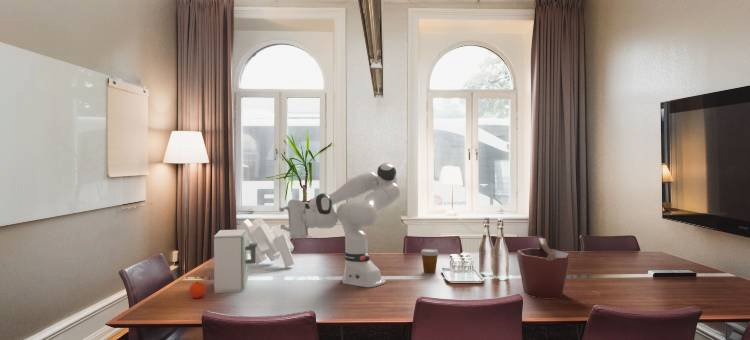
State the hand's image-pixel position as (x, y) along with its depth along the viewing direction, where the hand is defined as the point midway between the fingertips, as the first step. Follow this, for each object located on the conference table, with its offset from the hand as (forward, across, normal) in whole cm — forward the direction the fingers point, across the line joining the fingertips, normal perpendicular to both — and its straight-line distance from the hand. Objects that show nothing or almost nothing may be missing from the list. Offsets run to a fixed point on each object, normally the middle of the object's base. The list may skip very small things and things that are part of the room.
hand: (280, 218), depth 217 cm
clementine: (+35, -35, -10) cm, 51 cm away
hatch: (+12, -28, -16) cm, 34 cm away
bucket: (-105, -55, +51) cm, 129 cm away
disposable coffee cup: (-80, -30, +3) cm, 86 cm away
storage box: (+20, -28, -19) cm, 40 cm away
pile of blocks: (-3, -8, -49) cm, 50 cm away
